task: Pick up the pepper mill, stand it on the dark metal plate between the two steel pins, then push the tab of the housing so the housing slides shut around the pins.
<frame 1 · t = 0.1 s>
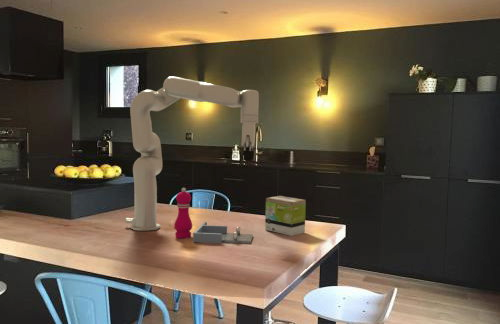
hand: (248, 159, 191), 31 cm above the table, tool pointing down, fingers open, 9 cm apart
pepper mill: (183, 237, 182), on the table
tea box: (284, 232, 195), on the table
housing: (212, 231, 184), point 2 cm above the table, slide at 7.0 cm
base plate: (236, 239, 179), on the table
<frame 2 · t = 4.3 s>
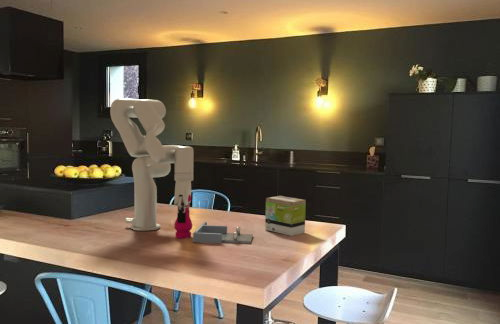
hand: (183, 220, 182), 7 cm above the table, tool pointing down, fingers closed on pepper mill, 5 cm apart
pepper mill: (183, 237, 182), on the table, touching gripper
everything else where it was.
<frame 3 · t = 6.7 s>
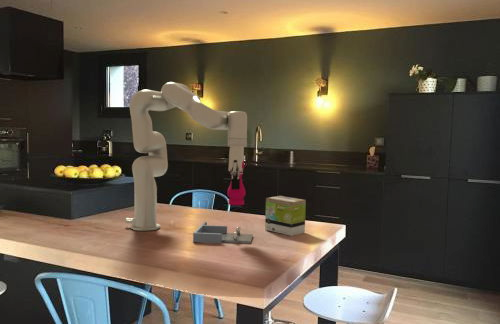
hand: (236, 187, 178), 21 cm above the table, tool pointing down, fingers closed on pepper mill, 5 cm apart
pepper mill: (236, 204, 178), point 14 cm above the table, touching gripper
everything else where it was.
when the fingers open (9 cm above the table, at t = 9.4 s): pepper mill drops 1 cm, resting on base plate.
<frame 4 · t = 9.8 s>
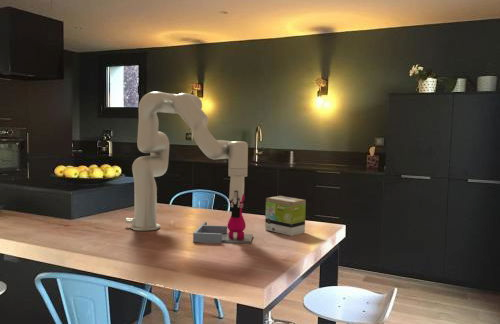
hand: (237, 215, 179), 10 cm above the table, tool pointing down, fingers open, 9 cm apart
pepper mill: (236, 237, 179), point 1 cm above the table, touching base plate
everything else where it was.
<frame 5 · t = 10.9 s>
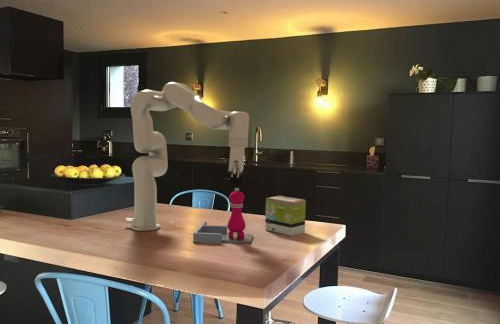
hand: (236, 186, 178), 21 cm above the table, tool pointing down, fingers open, 9 cm apart
nothing on the table moved.
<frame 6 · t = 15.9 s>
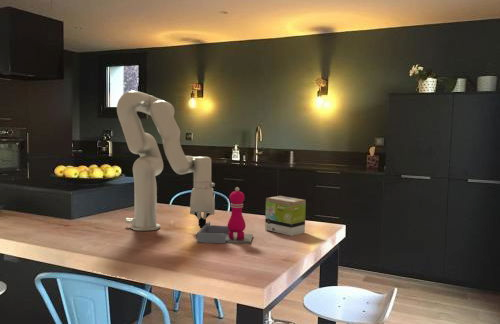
hand: (202, 227, 193), 1 cm above the table, tool pointing down, fingers closed
housing: (216, 231, 184), point 2 cm above the table, slide at 5.5 cm, touching gripper
everything else where it was.
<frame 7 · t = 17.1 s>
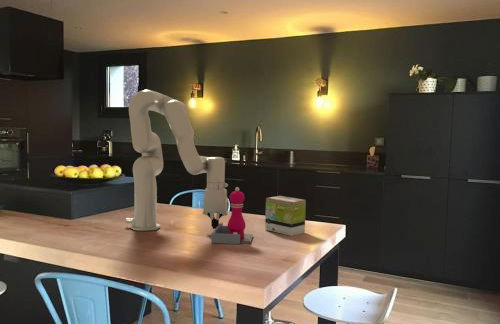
hand: (215, 228, 192), 1 cm above the table, tool pointing down, fingers closed
housing: (229, 232, 183), point 2 cm above the table, slide at -0.1 cm, touching gripper
everything else where it was.
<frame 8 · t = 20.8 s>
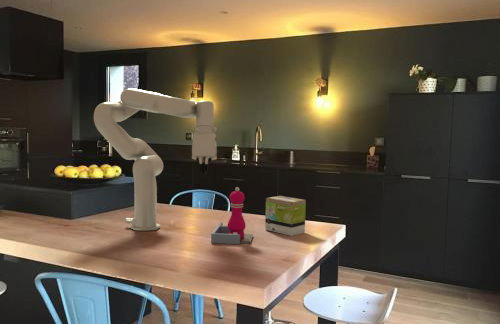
hand: (204, 173, 191), 25 cm above the table, tool pointing down, fingers closed
housing: (229, 232, 183), point 2 cm above the table, slide at 0.0 cm
everything else where it was.
at the end: pepper mill 0.2 cm off-centre on the base plate, point 0.8 cm above the base plate's base; pepper mill tilted 0°; housing slide at 0.0 cm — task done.
